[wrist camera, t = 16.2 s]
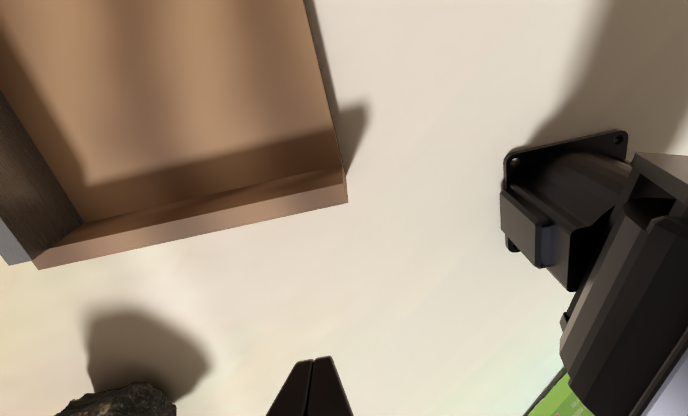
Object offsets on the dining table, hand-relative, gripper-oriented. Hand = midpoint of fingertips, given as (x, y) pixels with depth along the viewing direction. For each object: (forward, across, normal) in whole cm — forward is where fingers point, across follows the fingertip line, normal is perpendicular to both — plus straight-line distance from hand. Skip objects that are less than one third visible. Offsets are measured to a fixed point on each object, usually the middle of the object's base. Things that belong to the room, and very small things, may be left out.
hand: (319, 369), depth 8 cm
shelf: (+12, +7, -6) cm, 16 cm away
